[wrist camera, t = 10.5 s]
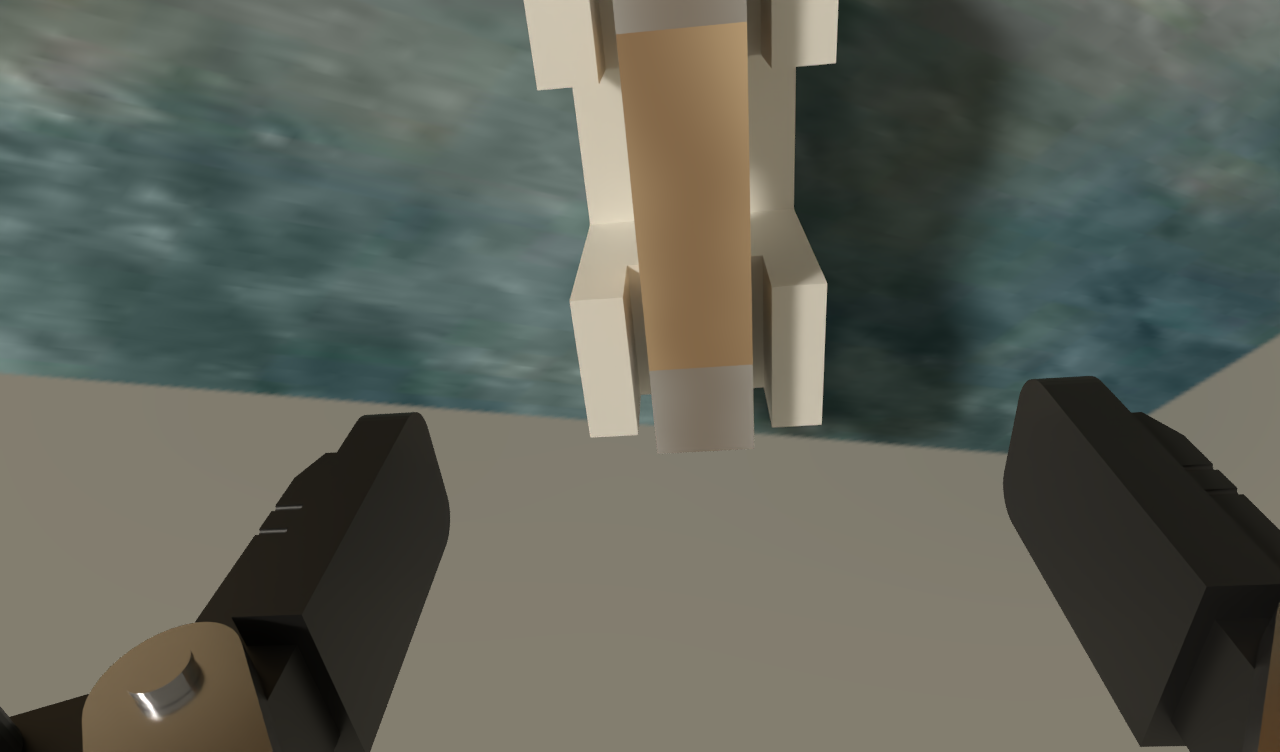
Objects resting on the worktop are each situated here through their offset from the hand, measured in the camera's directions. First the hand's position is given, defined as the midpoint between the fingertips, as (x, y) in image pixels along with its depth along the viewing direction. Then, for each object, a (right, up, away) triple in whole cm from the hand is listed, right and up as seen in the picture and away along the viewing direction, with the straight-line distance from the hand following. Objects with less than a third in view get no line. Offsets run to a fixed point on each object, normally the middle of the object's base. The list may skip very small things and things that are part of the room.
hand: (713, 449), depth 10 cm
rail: (0, +7, +13) cm, 14 cm away
